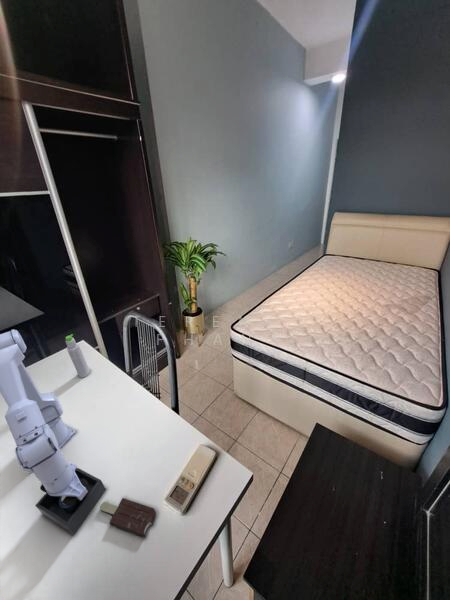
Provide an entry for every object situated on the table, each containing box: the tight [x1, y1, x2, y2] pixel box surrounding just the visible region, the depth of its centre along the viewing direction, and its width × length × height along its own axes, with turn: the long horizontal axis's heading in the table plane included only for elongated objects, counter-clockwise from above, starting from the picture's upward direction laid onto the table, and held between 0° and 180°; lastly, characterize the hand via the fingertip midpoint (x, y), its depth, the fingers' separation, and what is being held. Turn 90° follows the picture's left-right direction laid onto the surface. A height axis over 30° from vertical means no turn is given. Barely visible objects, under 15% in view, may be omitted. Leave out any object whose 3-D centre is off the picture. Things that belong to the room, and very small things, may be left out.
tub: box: [34, 467, 107, 536], centre depth 64 cm, size 11×10×5 cm
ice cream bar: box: [99, 497, 157, 538], centre depth 62 cm, size 5×2×15 cm
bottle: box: [65, 333, 91, 378], centre depth 102 cm, size 4×4×20 cm
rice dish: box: [59, 496, 77, 512], centre depth 65 cm, size 6×6×3 cm
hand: (73, 498), depth 65 cm, fingers closed on rice dish, 5 cm apart
